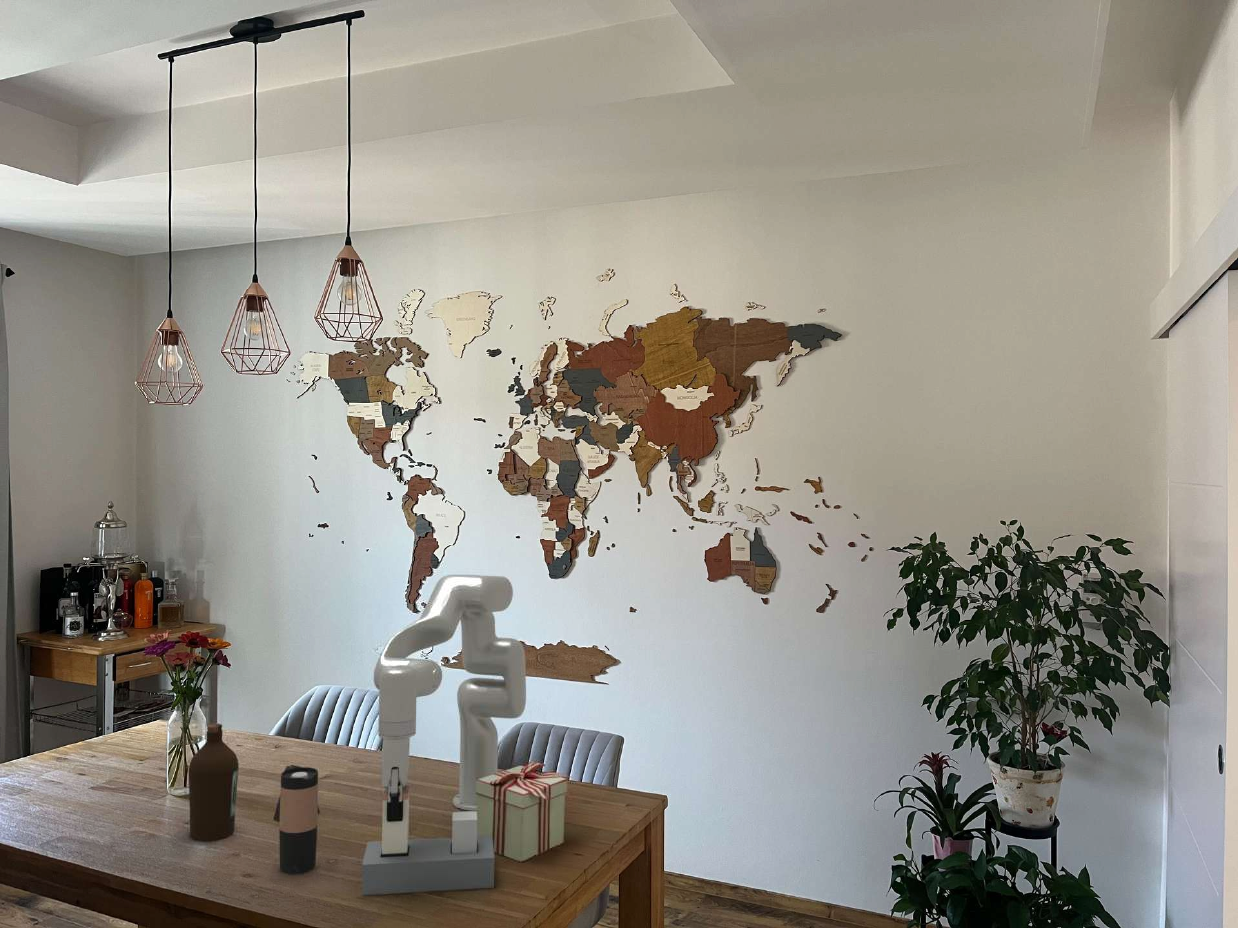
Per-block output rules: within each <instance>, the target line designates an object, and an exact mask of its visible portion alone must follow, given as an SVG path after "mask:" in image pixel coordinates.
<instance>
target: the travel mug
mask: <svg viewBox="0 0 1238 928" xmlns="http://www.w3.org/2000/svg"><path fill="white" fill-rule="evenodd" d="M279 794H280V795H279V797H280V821H279V827H278V828H279V829H278V831H279V870H280V872H282V873H283V874H287V875H300V874H304V873H308V872H310V871H312V870H314V869H315V867H316V860H317V859H316V858H317V841H318V839H317V837H318V818H319V817H318V816H319V814H318V807H319V804H318V803H319V800H318V799H319V798H318V796H319V771H318V769H316V768H314V767H309V766H308V767H307V766H303V767H302V766H299V768H292V769H288V770H286V771H285V770H283V772H281V773H280V793H279Z"/></svg>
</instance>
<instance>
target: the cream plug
mask: <svg viewBox="0 0 1238 928" xmlns="http://www.w3.org/2000/svg"><path fill="white" fill-rule="evenodd" d="M382 791H383V792H382V815H381V816H382V820H381V821H382V823H381V825H382V827H381V830H382V831H381V841H382V854H393V853H407V849H408V840H409V830H410V829H409V823H410V784H409V785H405V786H404V787H403V788H402V801H403V820H402V821H397V822H387V801H388V785H387V787H384V788H383V790H382ZM398 791H399V789H398Z"/></svg>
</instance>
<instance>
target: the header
mask: <svg viewBox="0 0 1238 928" xmlns="http://www.w3.org/2000/svg"><path fill="white" fill-rule="evenodd" d="M451 817H452V818H451V819H452V824H451V825H452V829H451V830H452V831H451V837H435V838H417V839H416V838H415V839H413V838H412V839H408V849H407V853H393V854H382V840H377V841H375V840H374V841H367V843H366V847H365V852H364V856H363V859H362V865H361V896H371V895H373V896H374V895H389V894H406V893H408V894H409V893H424V892H425V893H426V892H440V891H442V892H443V891H455V890H456V891H459V890H472V889H473V890H475V889H491V888H493V889H494V888H495V852H494V849H493V839H492V836H477V811H470V810H467V811H453V812H452V816H451Z"/></svg>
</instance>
